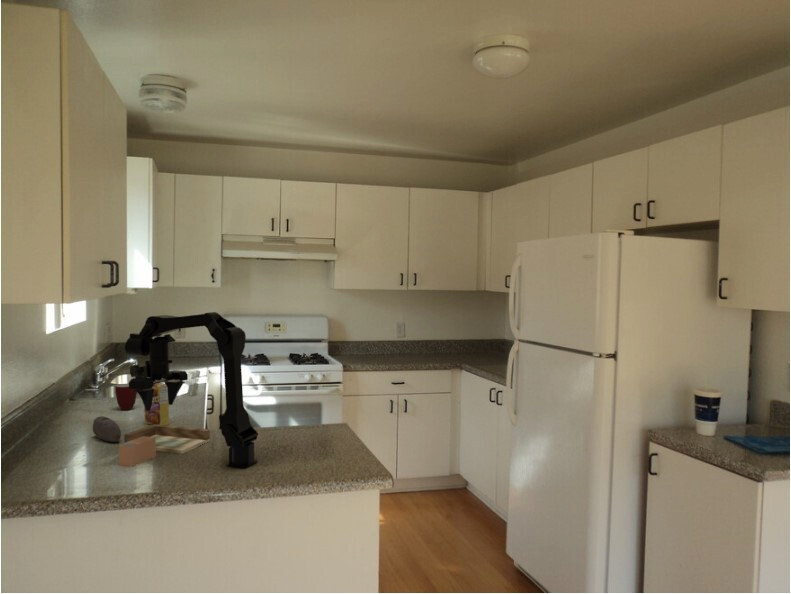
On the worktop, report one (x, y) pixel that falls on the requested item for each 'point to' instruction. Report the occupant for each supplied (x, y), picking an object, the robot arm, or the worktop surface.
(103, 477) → the worktop surface
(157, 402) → the candy box
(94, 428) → the grey stone
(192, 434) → the wooden structure
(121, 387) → the mug
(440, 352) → the worktop surface
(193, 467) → the worktop surface
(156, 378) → the robot arm
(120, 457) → the terracotta block
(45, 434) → the worktop surface
